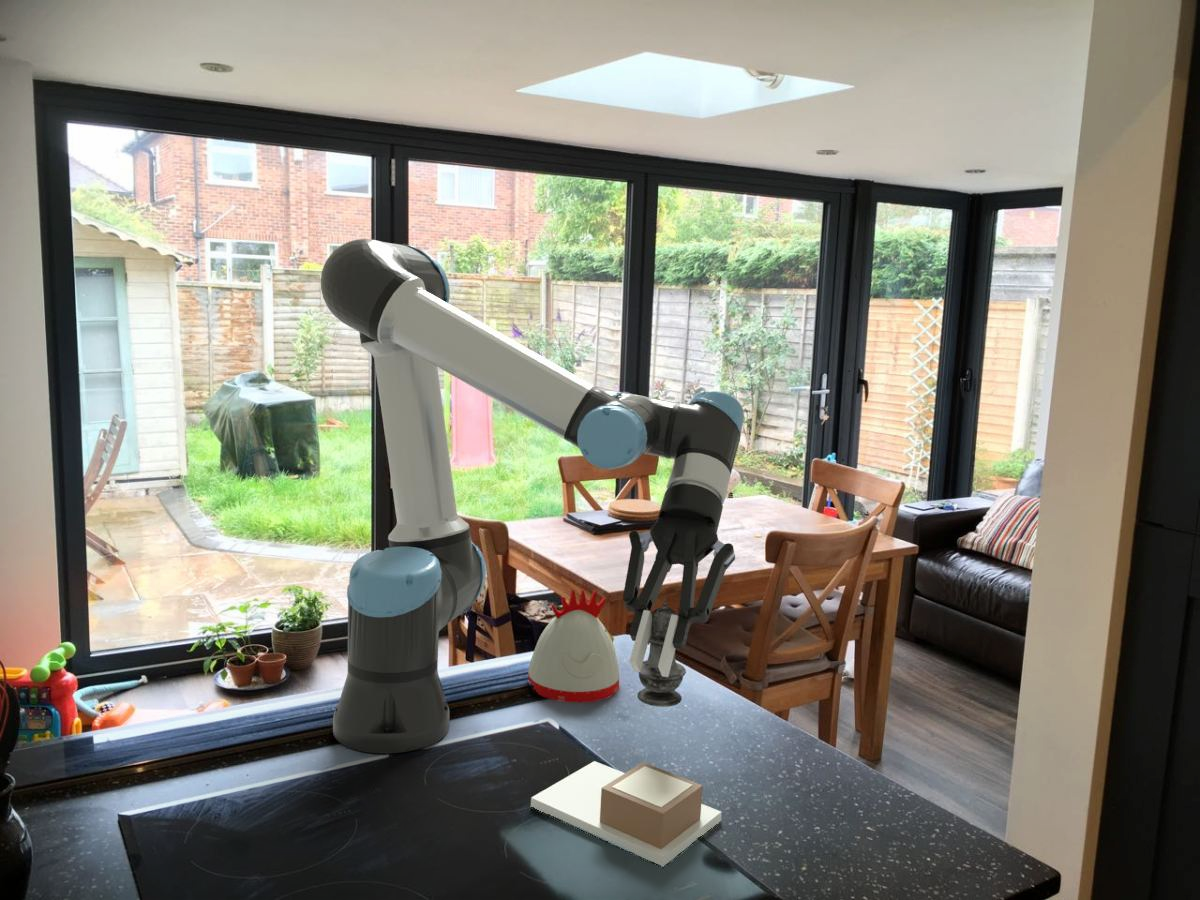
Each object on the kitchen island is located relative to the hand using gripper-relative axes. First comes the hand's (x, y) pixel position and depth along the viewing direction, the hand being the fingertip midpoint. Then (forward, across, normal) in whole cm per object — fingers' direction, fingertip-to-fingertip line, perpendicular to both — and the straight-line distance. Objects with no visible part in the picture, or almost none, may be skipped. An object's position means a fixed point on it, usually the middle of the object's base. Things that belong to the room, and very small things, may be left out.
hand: (649, 668), depth 107 cm
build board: (+14, +1, -10) cm, 17 cm away
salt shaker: (0, 0, -8) cm, 8 cm away
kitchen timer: (-9, +20, -34) cm, 41 cm away
